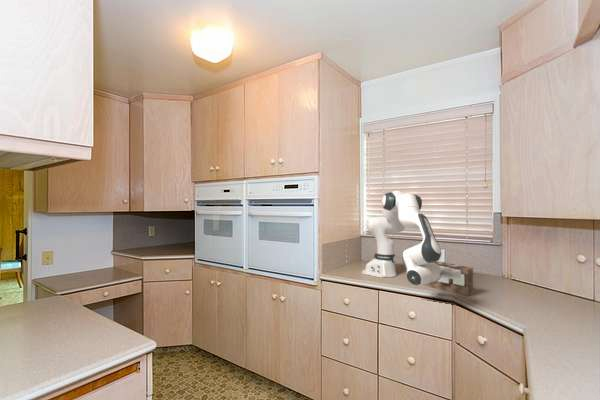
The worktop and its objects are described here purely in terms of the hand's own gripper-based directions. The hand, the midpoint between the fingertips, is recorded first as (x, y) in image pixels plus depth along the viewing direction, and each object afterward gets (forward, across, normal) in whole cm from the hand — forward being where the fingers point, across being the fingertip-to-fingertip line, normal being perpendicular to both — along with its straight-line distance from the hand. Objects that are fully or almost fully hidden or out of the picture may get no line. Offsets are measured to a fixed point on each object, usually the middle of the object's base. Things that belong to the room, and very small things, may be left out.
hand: (446, 268), depth 158 cm
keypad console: (+16, +7, +16) cm, 23 cm away
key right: (+14, -1, +11) cm, 18 cm away
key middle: (+13, +7, +11) cm, 18 cm away
